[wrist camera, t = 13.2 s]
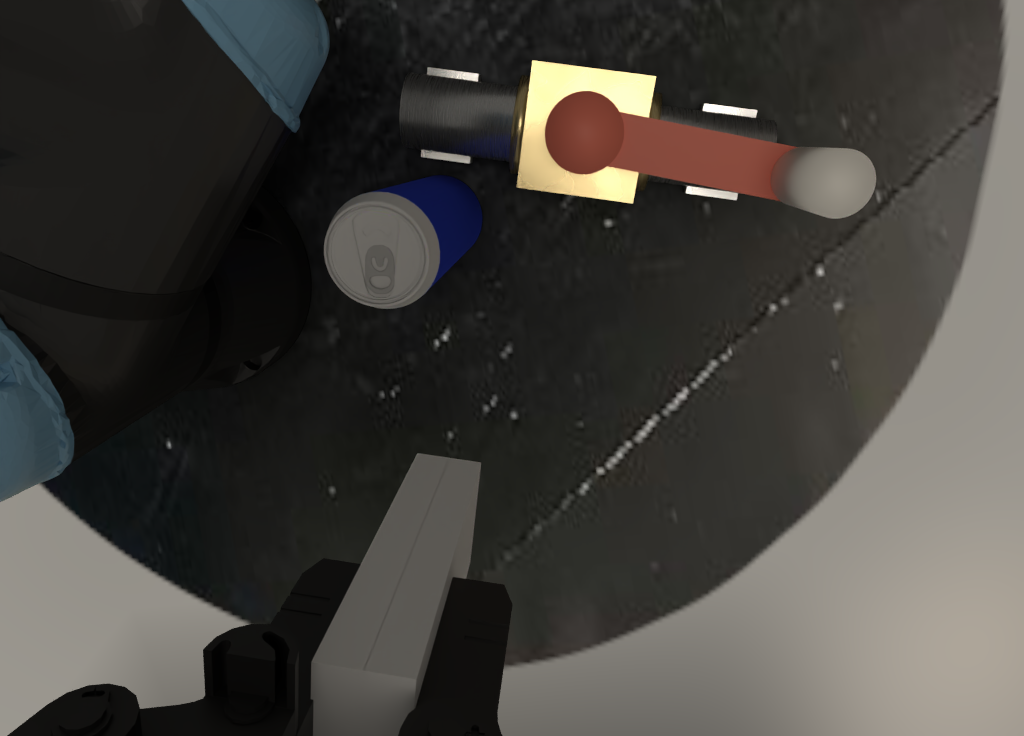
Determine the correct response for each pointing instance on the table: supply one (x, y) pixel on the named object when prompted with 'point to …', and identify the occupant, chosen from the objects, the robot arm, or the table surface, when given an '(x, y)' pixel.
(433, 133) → the valve
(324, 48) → the robot arm
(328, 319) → the table surface
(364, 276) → the beverage can
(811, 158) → the lever
